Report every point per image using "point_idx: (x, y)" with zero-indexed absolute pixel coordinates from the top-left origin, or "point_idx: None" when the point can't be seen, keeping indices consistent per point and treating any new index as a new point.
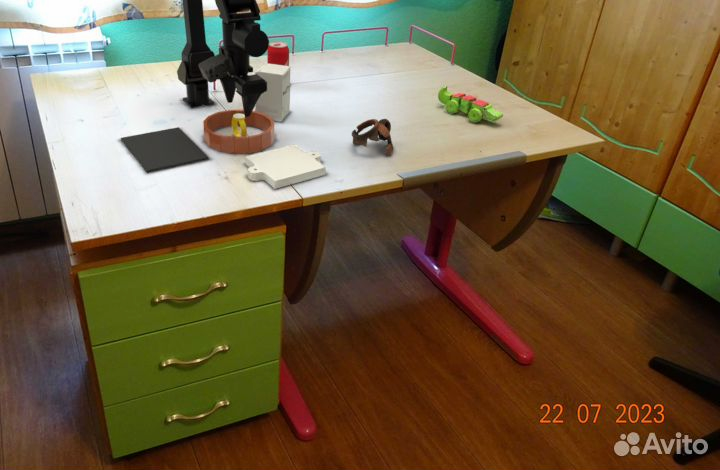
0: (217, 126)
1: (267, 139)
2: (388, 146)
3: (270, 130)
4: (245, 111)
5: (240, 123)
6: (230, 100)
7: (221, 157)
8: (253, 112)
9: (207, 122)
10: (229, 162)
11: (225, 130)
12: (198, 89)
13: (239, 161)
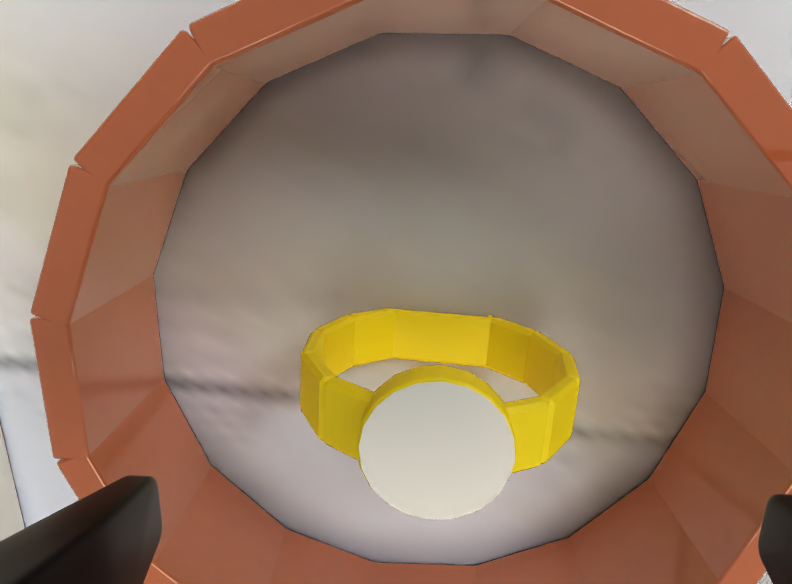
0: (728, 254)
1: None
2: None
3: None
4: (25, 533)
5: (331, 390)
6: (783, 552)
7: (136, 5)
8: None
9: (698, 91)
10: (13, 29)
11: (649, 300)
12: None
13: (6, 124)
